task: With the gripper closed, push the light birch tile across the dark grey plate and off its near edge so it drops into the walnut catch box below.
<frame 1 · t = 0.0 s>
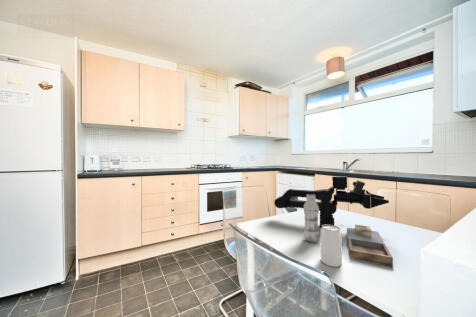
hand: (386, 199, 87), 17 cm above the table, tool horizontal, fingers open, 9 cm apart
can: (331, 262, 64), on the table
catch box: (368, 255, 69), on the table
tile: (363, 233, 82), point 3 cm above the table, touching plate
plastic bottle: (311, 241, 81), on the table
plate: (363, 241, 80), on the table
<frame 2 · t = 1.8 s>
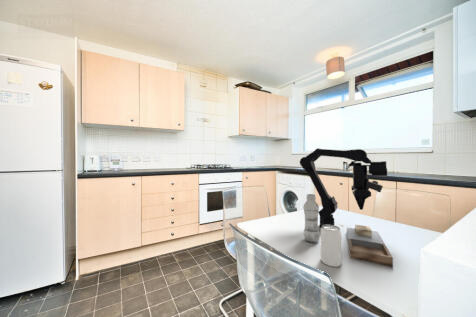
hand: (360, 208, 89), 12 cm above the table, tool pointing down, fingers open, 5 cm apart
nothing on the table moved.
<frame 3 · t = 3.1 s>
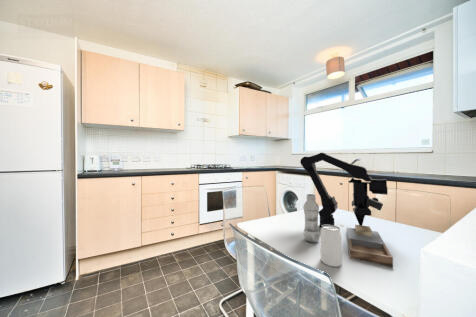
hand: (360, 225, 89), 4 cm above the table, tool pointing down, fingers closed
nothing on the table moved.
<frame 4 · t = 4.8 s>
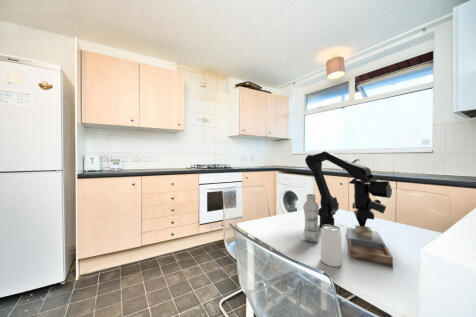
hand: (362, 229, 84), 4 cm above the table, tool pointing down, fingers closed
tile: (363, 233, 81), point 3 cm above the table, touching gripper
everything else where it was.
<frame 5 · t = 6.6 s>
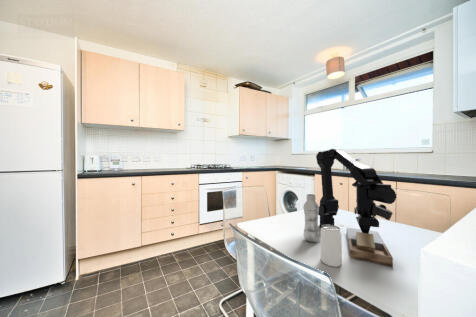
hand: (365, 237, 75), 4 cm above the table, tool pointing down, fingers closed
tile: (364, 242, 73), point 3 cm above the table, tilted 40°, touching gripper
everything else where it was.
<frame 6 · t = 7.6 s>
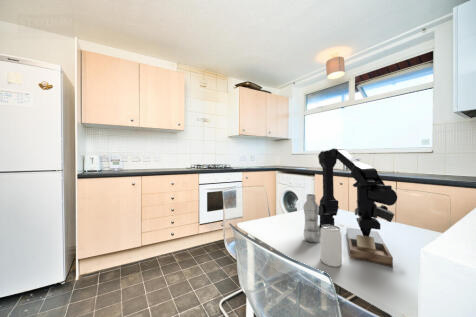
hand: (366, 239, 73), 4 cm above the table, tool pointing down, fingers closed
tile: (365, 246, 71), point 2 cm above the table, tilted 28°, touching catch box, gripper
everything else where it was.
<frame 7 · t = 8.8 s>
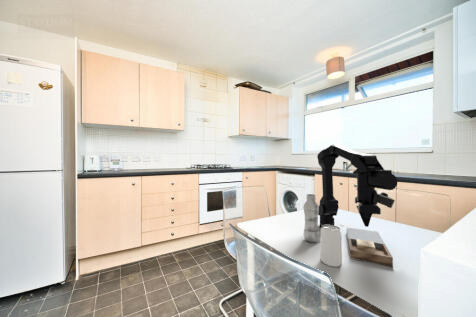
hand: (366, 226, 73), 9 cm above the table, tool pointing down, fingers closed
tile: (365, 249, 71), point 1 cm above the table, touching catch box
everything else where it was.
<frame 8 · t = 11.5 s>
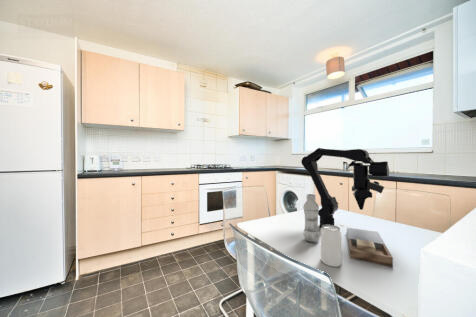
hand: (361, 209, 87), 12 cm above the table, tool pointing down, fingers closed
nothing on the table moved.
at the end: tile inside the target area on the catch box (2.2 cm from its centre), point 0.8 cm above the catch box's base; tile moved 12.2 cm from its start; the gripper is holding nothing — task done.
